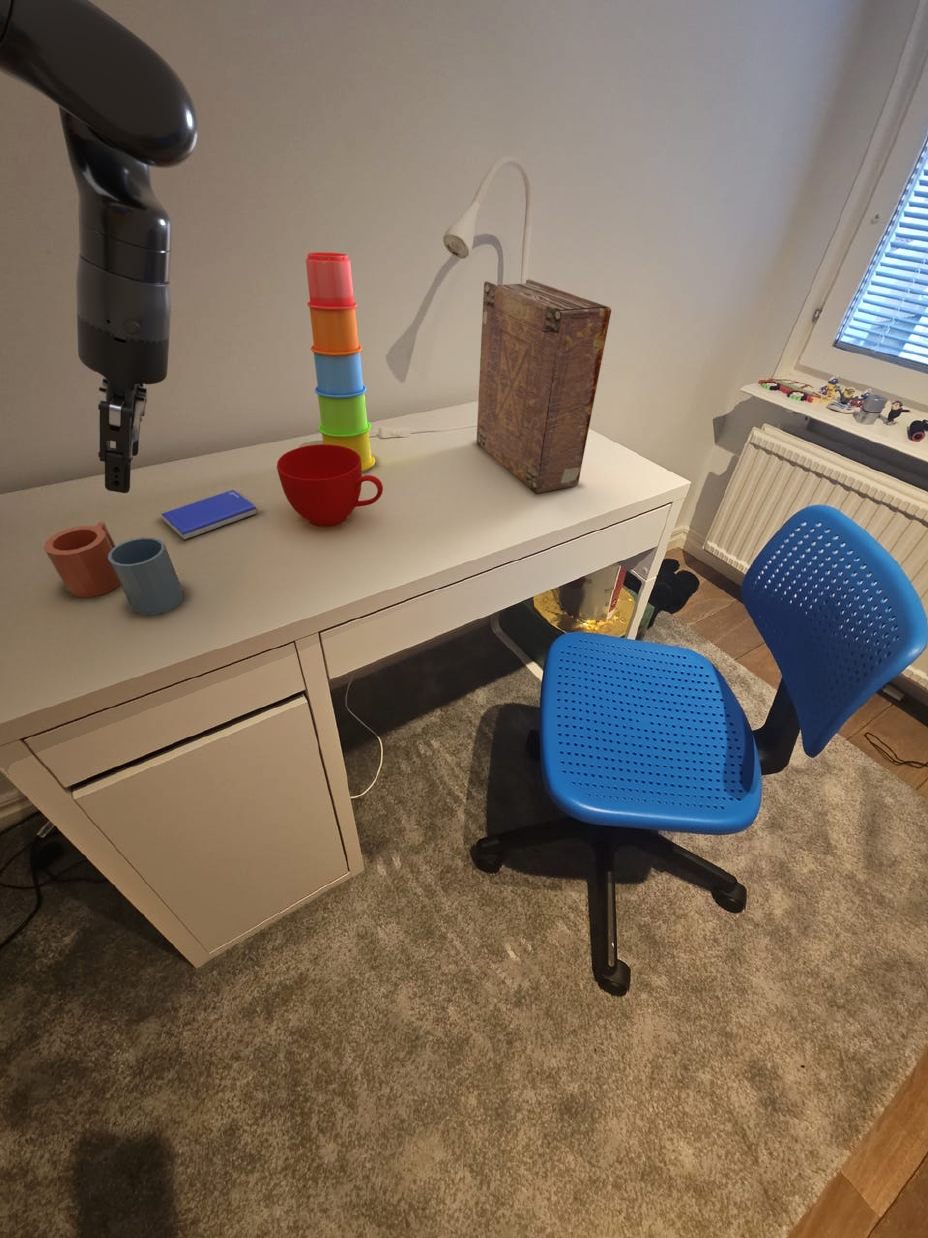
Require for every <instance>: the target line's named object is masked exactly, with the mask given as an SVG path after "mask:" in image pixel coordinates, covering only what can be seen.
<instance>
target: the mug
mask: <svg viewBox="0 0 928 1238" xmlns="http://www.w3.org/2000/svg"><path fill="white" fill-rule="evenodd" d="M116 546H117V545H115V542H114V540H113V538H112V536H111V534H110V531H109V529H108V527H107V524H106V523H105V522H104V521H98V522H96V524H95V525H81V526H80V525H79V526H74V527H70V528H67V529H64V530H61V531H58V532H56V533H55V534H53V535H51V536H50V537H49V538H48V539H47V540H46V541H45V542H44V544H43V549H44V551H45V553H46V555H47V557H48V558H49V560H50V562H51V564H52V566H53V567H54V569H55V571H56V573H57V574H58V576H59V578H60V580H61V581H62V583H63V585H64V587H65V589H66V590H67V591H68V593H69V594H70V595H72V596H74V597H77V598H93V597H98V596H102V595H104V594H108V593H109V592H112V591H114V590H115V589H117V588H118V587H120V586H121V585H120V583H119V581H118V579H117V577H116V575H115V573H114V571H113V569H112V566H111V564H110V562H109V560H108V554H109V552H110V551H111V550H112V549H113V548H114V547H116Z"/></svg>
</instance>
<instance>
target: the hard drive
mask: <svg viewBox="0 0 928 1238" xmlns="http://www.w3.org/2000/svg"><path fill="white" fill-rule="evenodd" d="M257 514H258V509H257V507H256V505H254V504H253V503H252V502H251V501H249V500H248V499H247V498H245V497H244V496H243V495H241V494H240V493H239V492H237V491H236V490H235V489H231V490H228V491H225V492H222V493H219V494H216V495H212V496H210V497H206V498H203V499H201V500H198V501H195V502H192V503H189V504H185V505H183V506H180V507H177V508H173V509H170V510H168V511H165V512H161V513H160V515H161V518H162V521H164V522H165V523H166V525H167V526H169V527H170V528H171V529H172V530H173V531H174V533H176V534H177V535H178V536H179V537H180V538H181V539H182V540H184V541H185V540H188V539H190V538H193V537H196V536H198V535H202V534H204V533H206V532H209V531H213V530H215V529H217V528H218V529H219V528H221V527H223V526H226V525H229V524H231V523H235V522H236V521H240V520H242V519H245V518H247V517H250V516H253V515H257Z"/></svg>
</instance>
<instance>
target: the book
mask: <svg viewBox="0 0 928 1238" xmlns="http://www.w3.org/2000/svg"><path fill="white" fill-rule="evenodd" d="M482 297H483V298H482V318H481V337H480V338H481V339H480V344H481V345H480V360H479V362H480V364H479V380H478V381H479V382H478V401H477V402H478V403H477V422H476V444H477V445H478V446H479V447H480V448H481V449H483V450H484V451H485V452H486V453H487V454H489V456H491V457H492V458H493V459H495V461H497V462H498V463H499V464H500V465H502V466H503V467H504V468H505V469H506V470H507V471H509V473H511V474H512V475H514V476H515V477H516V478H517V479H518V480H519V481H521V482H522V483H523V484H524V485H525V486H526V487H527V488H529V489H530V490H531V491H532V492H534V493H535V494H536V495H537V494H542V493H546V492H552V491H557V490H561V489H565V488H571V487H575V486H578V485H579V482H580V476H581V472H582V466H583V462H584V461H583V460H584V457H585V451H586V445H587V440H588V434H589V429H590V424H591V418H592V413H593V409H594V403H595V398H596V393H597V388H598V382H599V378H600V377H599V376H600V372H601V367H602V362H603V357H604V351H605V345H606V341H607V335H608V330H609V325H610V319H611V314H612V309H611V306H607V305H605V304H601V303H598V302H596V301H592V300H590V299H587V298H584V297H581V296H578V295H575V294H572V293H570V292H567V291H564V290H561V289H558V288H556V287H552V286H549V285H548V284H547V285H546V284H544V283H541V282H538V281H535V280H533V279H529V278H528V279H525V283H507V284H496V283H493V282H490V281H487V280H485V281H483V296H482Z"/></svg>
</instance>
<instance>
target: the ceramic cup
mask: <svg viewBox="0 0 928 1238" xmlns="http://www.w3.org/2000/svg"><path fill="white" fill-rule="evenodd" d="M276 470H277V475H278V477H279V482H280V484H281V487H282V490H283V493H284V495H285V497H286V499H287V501H288V503H289V504H290V506H291V508H293V510H294V511H295V512H296V513H297V514H298V515H299V516H300V517H302V518H303V519H304V520H306V521H307V522H308V523H310V525H313V526H316V527H320V528H329V527H335V526H339V525H341V524H343V523H344V522H345V521H346V520H347V519H348V517H349V516H350V515H351V514H352V512H354V510H355V508H361V507H366V506H369V505H372V504H374V503H376V502H377V501H378V500H379V499H380V498H381V496H382V495H383V491H384V486H383V483H382V481H381V480H380V479H379V477H377V476H376V475H371V474H366V475H363V472H362V466H361V458H360V456H359V454H358V453H357V452H355V451H354V450H352V449H350V448H347V447H343V446H339V445H329V444H323V443H322V444H320V443H319V444H309V445H303V446H300V447H296V448H294V449H291V450H289V451H287V452H285V453H284V454H282V455H281V456H280V457H279V458H278V460H277V463H276ZM364 482H371V483H373V484H374V485H375V486H376V490H377V492H376V494H375V495H374V496H373V497H372V498H368V499H364V500H359V499H360V496H361V493H362V486H363V485H362V484H363V483H364Z"/></svg>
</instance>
